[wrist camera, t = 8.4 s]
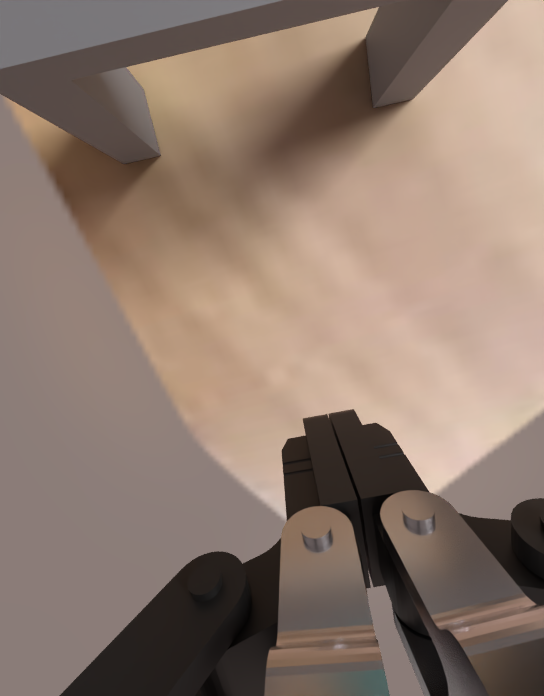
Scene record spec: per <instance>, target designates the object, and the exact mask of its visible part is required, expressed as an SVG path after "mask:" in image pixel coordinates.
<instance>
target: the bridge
mask: <svg viewBox="0 0 544 696" xmlns="http://www.w3.org/2000/svg"><path fill="white" fill-rule="evenodd" d="M507 1H508V0H0V94H1V95H3V96H5V97H7V98H9V99H10V100H12V101H14V102H16V103H17V104H19V105H21V106H23V107H24V108H26V109H28V110H30V111H31V112H33V113H35V114H37V115H38V116H40V117H42V118H44V119H45V120H47V121H49V122H51V123H52V124H54V125H56V126H58V127H59V128H61V129H63V130H65V131H66V132H68V133H70V134H72V135H74V136H75V137H77V138H79V139H81V140H82V141H84V142H86V143H88V144H89V145H91V146H93V147H95V148H96V149H98V150H100V151H102V152H103V153H105V154H107V155H109V156H110V157H112V158H114V159H116V160H117V161H119V162H121V163H123V164H126V163H130V162H135V161H139V160H144V159H148V158H153V157H157V156H161V154H160V151H159V147H158V143H157V139H156V135H155V131H154V127H153V123H152V120H151V116H150V112H149V108H148V104H147V100H146V96H145V92H144V89H143V88H142V87H141V85H140V84H139V83H138V82H137V80H136V79H135V78H134V77H133V75H132V74H131V73H130V71H129V70H128V69H127V68H126V67H128V66H132V65H136V64H141V63H145V62H149V61H153V60H157V59H162V58H166V57H170V56H174V55H178V54H183V53H187V52H191V51H195V50H199V49H204V48H208V47H212V46H216V45H220V44H225V43H229V42H233V41H237V40H241V39H246V38H250V37H254V36H258V35H262V34H267V33H271V32H275V31H279V30H283V29H288V28H292V27H296V26H300V25H304V24H309V23H313V22H317V21H321V20H325V19H329V18H334V17H338V16H342V15H346V14H350V13H355V12H359V11H363V10H367V9H371V8H376V7H379V9H378V11H377V13H376V15H375V18H374V20H373V22H372V24H371V26H370V29H369V31H368V33H367V35H366V46H367V56H368V65H369V75H370V84H371V94H372V104H373V108H376V107H380V106H385V105H389V104H393V103H398V102H402V101H407V100H411V99H414V98H415V96H416V95H417V94H418V93H419V92H420V91H421V90H422V89H423V88H424V87H425V86H426V85H427V84H428V83H429V82H430V81H431V80H432V79H433V78H434V77H435V76H436V75H437V74H438V73H439V72H440V71H441V69H442V68H443V67H444V66H445V65H446V64H447V63H448V62H449V61H450V60H451V59H452V58H453V57H454V56H455V55H456V54H457V53H458V52H459V51H460V50H461V49H462V48H463V47H464V46H465V45H466V44H467V43H468V41H469V40H470V39H471V38H472V37H473V36H474V35H475V34H476V33H477V32H478V31H479V30H480V29H481V28H482V27H483V26H484V25H485V24H486V23H487V22H488V21H489V20H490V19H491V18H492V17H493V16H494V14H495V13H496V12H497V11H498V10H499V9H500V8H501V7H502V6H503V5H504V4H505V3H506V2H507Z"/></svg>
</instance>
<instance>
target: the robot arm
mask: <svg viewBox="0 0 544 696" xmlns="http://www.w3.org/2000/svg"><path fill="white" fill-rule="evenodd" d="M303 423H304V428H305V434H306V436H301V437H295V438H290V439H288V440H287V442H286V444H285V445H284V447H283V449H282V462H283V474H284V488H285V501H286V514H287V522H286V524H285V526H284V528H283V530H282V535H281V539H280V540H279V541H278V542H277V543H276V544H275V545H274V546H273V547H272V548H271V549H270V550H268V551H267V552H265V553H263V554H262V555H260V556H258V557H255V558H253V559H251V560H249V561H247V562H245V563H243V564H242V563H241V561H240V560H239V559H238V558H237V557H236V556H234V555H232V554H230V553H226V552H211V553H207V554H204V555H201V556H199V557H197V558H195V559H194V560H192V561H191V562H190V563H188V564H187V565H186V566H185V567H184V568H183V569H181V570H180V571H179V573H178V574H177V575H176V576H175V577H174V578H173V579H172V580H171V581H170V582H169V583H168V584H167V585H166V586H165V587H164V588H163V589H162V590H161V591H160V592H159V593H158V594H157V595H156V597H154V598H153V599H152V601H151V602H150V603H149V604H148V605H147V606H146V607H145V608H144V609H143V610H142V611H141V612H140V613H139V614H138V615H137V616H136V617H135V618H134V619H133V620H132V621H131V622H130V623H129V624H128V625H127V626H126V627H125V629H124V630H123V631H122V632H121V633H120V634H119V635H118V636H117V637H116V638H115V639H114V640H113V641H112V642H111V643H110V644H109V645H108V646H107V647H106V648H105V649H104V650H103V651H102V652H101V653H100V654H99V655H98V657H97V658H96V659H95V660H94V661H93V662H92V663H91V664H90V665H89V666H88V667H87V668H86V669H85V670H84V671H83V672H82V673H81V674H80V675H79V676H78V677H77V678H76V679H75V680H74V681H73V682H72V683H71V685H70V686H69V687H68V688H67V689H66V690H65V691H64V692H63V693H62V694H61V695H60V696H390V695H389V690H388V686H387V680H386V676H385V671H384V667H383V662H382V657H381V652H380V648H379V644H378V640H377V639H376V636H375V631H374V627H373V622H372V617H371V612H370V607H369V603H368V596H367V590H366V588H370V580H369V574H370V577H371V580H372V583H373V587H377V586H383V585H386V588H387V591H388V594H389V597H390V600H391V602H392V610H393V617H394V623H395V626H396V629H397V631H398V634H399V636H400V638H401V641H402V643H403V646H404V648H405V651H406V653H407V656H408V658H409V660H410V663H411V665H412V667H413V670H414V673H415V675H416V677H417V680H418V682H419V685H420V687H421V689H422V692H423V694H424V696H544V499H542V498H539V499H530V500H526V501H523V502H521V503H519V504H518V505H517V506H516V507H515V508H514V509H513V511H512V513H511V521H509V520H499V519H487V518H477V517H470V516H467V515H463V514H459V513H458V512H457V511H456V510H455V509H454V507H453V506H452V505H451V504H450V503H449V502H447V501H446V500H444V499H443V498H441V497H440V496H437V495H435V494H433V493H430V492H429V491H428V489H427V488H426V486H425V485H424V483H423V482H422V480H421V478H420V477H419V475H418V474H417V472H416V471H415V469H414V468H413V466H412V465H411V463H410V462H409V460H408V459H407V457H406V455H404V453H403V451H402V449H401V448H400V446H399V445H398V444H397V442H396V440H395V439H394V437H393V436H392V434H391V432H390V431H389V430H387V429H385V428H384V427H382V426H381V425H379V424H377V423H372V424H366V425H362V424H361V422H360V420H359V418H358V416H357V414H356V412H355V411H354V409H352V410H346V411H341V412H336V413H330V414H329V418H328V415H327V414H325V415H320V416H314V417H309V418H303ZM368 571H369V574H368Z"/></svg>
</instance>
